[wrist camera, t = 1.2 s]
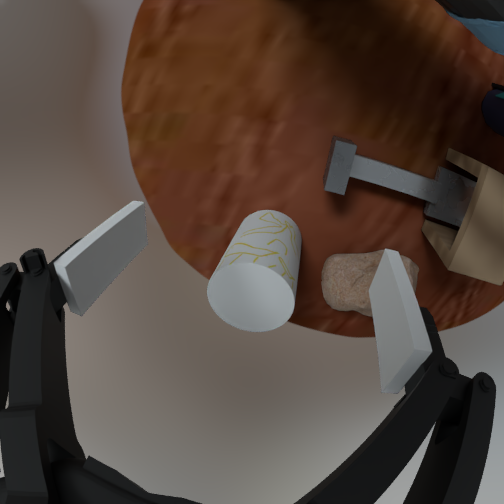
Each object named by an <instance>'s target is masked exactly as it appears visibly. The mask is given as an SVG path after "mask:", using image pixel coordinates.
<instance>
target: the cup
mask: <svg viewBox="0 0 504 504" xmlns="http://www.w3.org/2000/svg"><path fill="white" fill-rule="evenodd" d="M301 243H302V239H301V233H300V231H299V228H298V227H297V225H296V224H295V222H294V221H293V220H292V219H291V218H289V217H288V216H286V215H285V214H283V213H280V212H277V211H273V210H262V211H257V212H255V213H252V214H251V215H249V216H248V217H247V218H246V219H245V220H244V221H243V222H242V224H241V225H240V227H239V229H238V231H237V232H236V234H235V236H234V238H233V239H232V241H231V243H230V245H229V246H228V248H227V250H226V252H225V254H224V255H223V257H222V259H221V261H220V263H219V264H218V266H217V268H216V270H215V272H214V273H213V275H212V277H211V279H210V281H209V284H208V287H207V295H208V300H209V303H210V305H211V307H212V308H213V310H214V311H215V313H216V314H217V315H218V316H219V317H220V318H221V319H222V320H224V321H225V322H226V323H228V324H230V325H232V326H233V327H236V328H238V329H241V330H245V331H250V332H265V331H270V330H273V329H276V328H278V327H280V326H282V325H283V324H284V323H285V322H287V321H288V319H289V318H290V317H291V315H292V313H293V310H294V305H295V297H296V289H297V280H298V272H299V263H300V253H301Z"/></svg>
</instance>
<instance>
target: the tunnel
mask: <svg viewBox="0 0 504 504" xmlns="http://www.w3.org/2000/svg"><path fill="white" fill-rule="evenodd" d="M446 160H448V161H450V162H451V163H453V164H455V165H457V166H459V167H461V168H462V169H464V170H466V171H468V172H469V173H471V174H473V175H474V176H476V177H478V180H477V184H476V187H475V189H474V192H473V195H472V198H471V201H470V204H469V206H468V209H467V212H466V214H465V217H464V219H463V222H462V224H461V227H460V229H459V231H457V230H455V229H452V228H449V227H446V226H443V225H441V224H438V223H435V222H432V221H429V220H426V219H425V222H424V224H423V227H422V229H421V230H422V232H423V233H424V235H425V236H426V238H427V239H428V240H429V242H430V243H431V245H432V246H433V248H434V249H435V251H436V252H437V254H438V255H439V257H440V259H441V260H442V262H443V263H444V265H445V266H446V268H447V270H450V271H453V272H457V273H460V274H463V275H467V276H470V277H474V278H477V279H480V280H484V281H487V282H490V283H493V284H497V285H500V286H501V285H502V283H503V281H504V175H503V174H501V173H499V172H498V171H496V170H494V169H492V168H490V167H489V166H487V165H485V164H483V163H481V162H479V161H477V160H475V159H473V158H470V157H468V156H466V155H464V154H462V153H460V152H457V151H455V150H453V149H451V148H448V152H447V156H446Z"/></svg>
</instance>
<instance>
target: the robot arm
mask: <svg viewBox="0 0 504 504" xmlns="http://www.w3.org/2000/svg"><path fill="white" fill-rule="evenodd" d="M435 1H436V2H438V3H439V4H440V5H441V6H442V7H443V8H444V9H445V11H446V12H447V13H448V14H449V15H450V16H451V17H453V18H454V19H456V20H458V21H460V22H461V23H462V24H463V25H464V26H465V27H467V28H468V29H469V30H470V31H471V32H472V33H473V34H474V35H475V36H476V37H477V38H478V39H479V40H480V41H481V42H482V43H483V44H484V45H485V46H487V47H488V48H489V49H491V50H492V51H494V52H496V53H499V54H501V55H504V0H435ZM147 245H148V240H147V230H146V217H145V203H144V202H139V201H132V202H131V203H129V204H128V205H127V206H125V207H124V208H122V209H121V210H120V211H118V212H117V213H115V214H114V215H113V216H111V217H110V218H109V219H107V220H106V221H105V222H103V223H102V224H101V225H99V226H98V227H97V228H96V229H94V230H93V231H92V232H90V233H89V234H88V235H86V236H85V237H83V238H81V239H79V240H77V241H75V242H74V243H73V244H72V245H70V247H68V248H67V249H66V250H65V251H63V252H62V253H61V254H60V255H58V256H57V257H56V258H55V259H54V260H52V261H51V262H50V263H49V264H47V261H46V258H45V254H44V251H43V250H42V249H39V248H35V249H31V250H28V251H27V252H25V253H24V254H23V255H22V256H21V257H20V262H21V265H22V268H23V271H24V272H19V270H18V267H17V265H16V264H15V263H6V264H4V265H3V266H1V267H0V441H1V453H2V461H3V469H4V475H5V477H2V478H0V504H201V503H198V502H194V501H191V500H188V499H184V498H179V497H172V496H165V495H158V494H152V493H148V492H147V491H145V490H144V489H143V488H141V487H140V486H138V485H137V484H136V483H134V482H132V481H131V480H129V479H128V478H127V477H125V476H124V475H122V474H121V473H119V472H118V471H116V470H115V469H113V468H110V467H109V466H107V465H105V464H103V463H101V462H99V461H97V460H96V459H94V458H92V457H90V456H88V458H87V459H86V458H85V454H84V452H83V449H82V447H81V446H80V444H79V442H78V440H77V438H76V434H75V429H74V424H73V417H72V412H71V404H70V397H69V389H68V379H67V368H66V352H65V311H64V308H63V305H64V304H65V303H66V302H67V303H68V306H69V308H70V310H71V312H73V313H75V314H78V315H80V316H83V314H84V313H85V312H86V311H87V310H88V308H89V307H90V306H91V305H92V304H93V303H94V301H96V299H97V298H98V297H99V296H100V295H101V294H102V293H103V291H104V290H105V289H106V288H107V287H108V286H109V285H110V284H111V283H112V282H113V280H114V279H115V278H116V277H117V276H118V275H119V274H120V273H121V272H122V271H123V270H124V268H126V266H127V265H128V264H129V263H130V262H131V261H132V260H133V259H134V258H135V257H136V256H137V255H138V254H139V253H140V252H141V251H142V250H143V249H144V248H145V247H146V246H147ZM369 296H370V302H371V308H372V314H373V321H374V328H375V335H376V343H377V350H378V360H379V370H380V382H381V392H382V393H394V394H397V393H399V391H400V390H401V389H402V388H403V387H404V386H405V392H406V394H405V395H404V396H403V397H402V398H401V399H400V400H399V402H398V403H397V404H396V405H395V406H394V408H393V410H392V411H391V412H390V413H389V415H388V416H387V417H386V418H385V419H384V420H383V422H382V423H381V424H380V425H379V426H378V427H377V428H376V430H375V431H374V432H373V433H372V434H371V435H370V436H369V437H368V438H367V439H366V441H364V442H363V444H361V445H360V447H359V448H358V449H357V450H356V451H355V452H354V453H353V454H352V455H351V456H350V457H348V458H347V459H346V461H344V462H343V463H342V464H341V465H340V466H339V467H338V468H337V469H336V470H335V471H333V472H332V473H331V474H330V475H329V476H328V477H327V478H326V479H324V480H323V481H322V482H321V483H320V484H318V485H317V486H316V487H315V488H313V489H312V490H311V491H310V492H309V493H307V494H306V495H305V496H303V497H302V498H301V499H299V500H298V501H297V502H296V503H294V504H374V503H375V502H376V501H377V500H378V498H379V497H380V496H381V495H382V494H383V493H384V492H385V491H386V490H387V488H388V487H389V486H390V485H391V483H392V482H393V481H394V480H395V479H396V478H397V476H398V475H399V474H400V472H401V471H402V470H403V469H404V467H405V466H406V465H407V463H408V462H409V461H410V459H411V458H412V457H413V455H414V454H415V452H416V451H417V450H418V448H419V447H420V445H421V444H422V442H423V441H424V439H425V438H426V436H427V435H428V433H429V432H430V430H431V428H432V427H433V425H434V424H435V426H434V430H433V433H432V436H431V439H430V441H429V444H428V447H427V450H426V453H425V455H424V458H423V460H422V463H421V465H420V468H419V470H418V472H417V475H416V477H415V479H414V481H413V484H412V486H411V488H410V491H409V492H408V494H407V496H406V498H405V500H404V502H403V504H474V502H475V498H476V495H477V493H478V489H479V486H480V482H481V479H482V475H483V471H484V467H485V463H486V459H487V454H488V449H489V444H490V438H491V432H492V426H493V418H494V409H495V398H496V385H495V383H494V380H493V379H492V378H491V376H489V375H488V374H487V373H484V372H479V373H477V374H476V375H475V376H474V377H473V378H472V379H471V378H469V377H466V376H464V375H461V374H459V370H458V367H457V366H456V364H455V363H454V362H453V361H452V360H450V359H449V358H446V357H445V353H444V350H443V347H442V343H441V340H440V337H439V334H438V331H437V328H436V327H435V322H434V319H433V316H432V315H431V314H430V312H429V311H428V310H427V308H424V307H419V305H418V302H417V299H416V297H415V294H414V291H413V288H412V285H411V283H410V280H409V277H408V275H407V272H406V270H405V267H404V265H403V262H402V260H401V257H400V255H399V252H398V251H394V250H390V249H385V250H384V253H383V256H382V258H381V261H380V264H379V266H378V269H377V271H376V274H375V276H374V279H373V281H372V283H371V286H370V288H369ZM7 301H8V303H9V305H10V310H9V311H8V310H7V308H6V303H7ZM8 392H9V406H8V408H7V409H5V406H6V401H7V397H8ZM435 422H436V423H435ZM0 472H1V471H0Z"/></svg>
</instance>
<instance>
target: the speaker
mask: <svg viewBox="0 0 504 504" xmlns="http://www.w3.org/2000/svg"><path fill="white" fill-rule="evenodd" d="M492 86H493V87H495V88H497V89H495V90H492V91H489V92H488V93H487V95H486V97H485V99H484V101H483V102H482V111H483V114H484V118H485V122H486V123H487V124H488V125H489V126H490V127H491V128H492V129H493V131H495V132H496V133H498V134H500V135H501V136H503V137H504V86H502V85H498V84H495V83H492Z"/></svg>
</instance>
